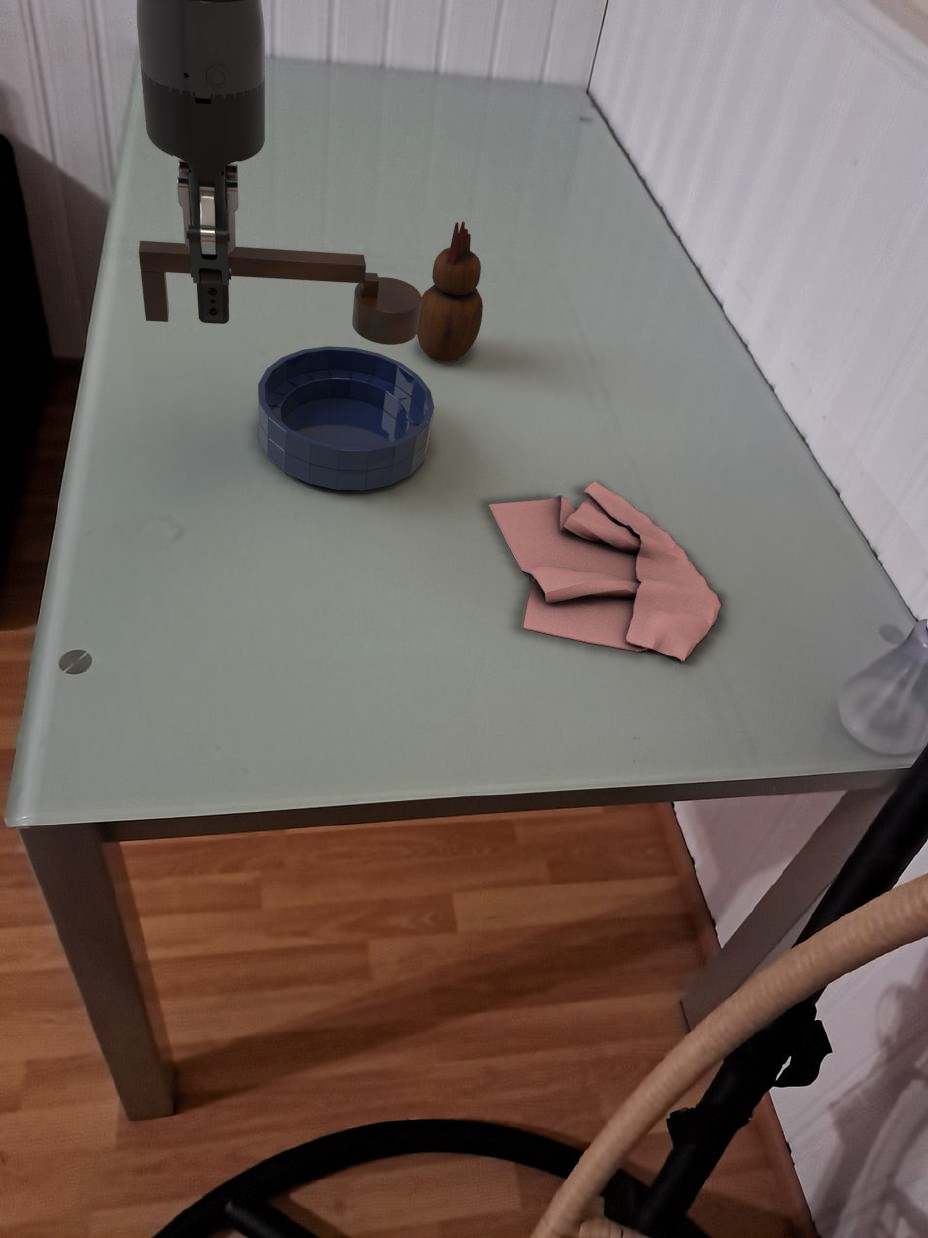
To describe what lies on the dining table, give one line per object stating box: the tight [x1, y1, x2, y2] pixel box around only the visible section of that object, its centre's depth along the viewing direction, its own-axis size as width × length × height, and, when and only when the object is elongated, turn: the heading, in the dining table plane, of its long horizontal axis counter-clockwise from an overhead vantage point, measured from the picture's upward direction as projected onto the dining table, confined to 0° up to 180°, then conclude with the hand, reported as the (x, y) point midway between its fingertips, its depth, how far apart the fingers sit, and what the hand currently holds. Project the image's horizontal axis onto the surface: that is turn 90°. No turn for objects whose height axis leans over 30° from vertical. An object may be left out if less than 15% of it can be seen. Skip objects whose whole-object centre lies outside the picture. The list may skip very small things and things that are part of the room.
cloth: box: [488, 481, 722, 663], centre depth 82 cm, size 20×22×2 cm
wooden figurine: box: [416, 221, 484, 363], centre depth 96 cm, size 7×6×15 cm
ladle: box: [138, 240, 422, 346], centre depth 72 cm, size 21×5×6 cm, turn 99°
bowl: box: [257, 345, 435, 491], centre depth 87 cm, size 16×16×5 cm
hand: (214, 312), depth 72 cm, fingers closed on ladle
